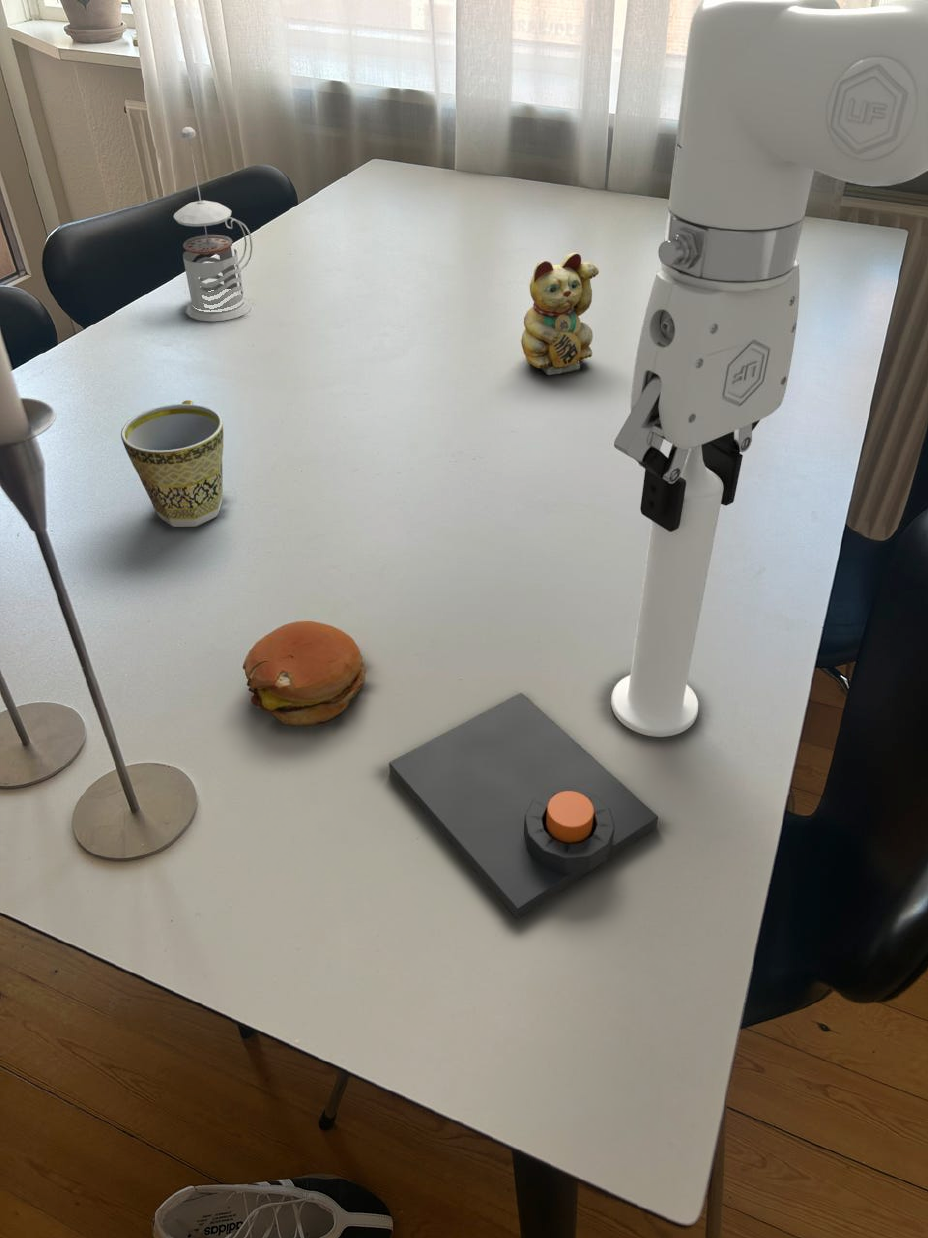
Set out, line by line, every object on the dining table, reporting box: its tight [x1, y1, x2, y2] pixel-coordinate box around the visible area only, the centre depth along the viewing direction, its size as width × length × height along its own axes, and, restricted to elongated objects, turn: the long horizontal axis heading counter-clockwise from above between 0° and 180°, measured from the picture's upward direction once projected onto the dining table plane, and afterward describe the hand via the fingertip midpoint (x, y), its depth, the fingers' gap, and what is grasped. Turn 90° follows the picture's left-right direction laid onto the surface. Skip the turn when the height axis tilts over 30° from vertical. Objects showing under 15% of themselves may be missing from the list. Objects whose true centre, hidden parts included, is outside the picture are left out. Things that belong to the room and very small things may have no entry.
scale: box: [388, 692, 659, 920], centre depth 71 cm, size 16×13×3 cm
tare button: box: [546, 791, 594, 843], centre depth 67 cm, size 3×3×2 cm
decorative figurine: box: [520, 252, 600, 376], centre depth 125 cm, size 10×8×15 cm
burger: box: [242, 620, 366, 727], centre depth 81 cm, size 10×9×5 cm
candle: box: [610, 445, 724, 738], centre depth 72 cm, size 7×7×25 cm
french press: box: [173, 126, 253, 322], centre depth 138 cm, size 10×12×25 cm
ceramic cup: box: [120, 399, 224, 528], centre depth 101 cm, size 13×10×10 cm
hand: (686, 506), depth 67 cm, fingers closed on candle, 4 cm apart
